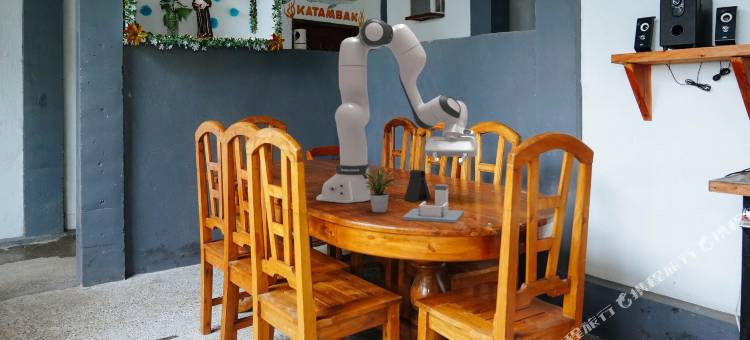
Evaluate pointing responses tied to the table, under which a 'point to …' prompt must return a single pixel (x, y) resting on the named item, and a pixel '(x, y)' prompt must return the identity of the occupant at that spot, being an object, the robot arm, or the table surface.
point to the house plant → (379, 191)
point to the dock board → (433, 214)
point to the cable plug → (441, 194)
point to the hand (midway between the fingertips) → (448, 163)
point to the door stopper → (417, 187)
